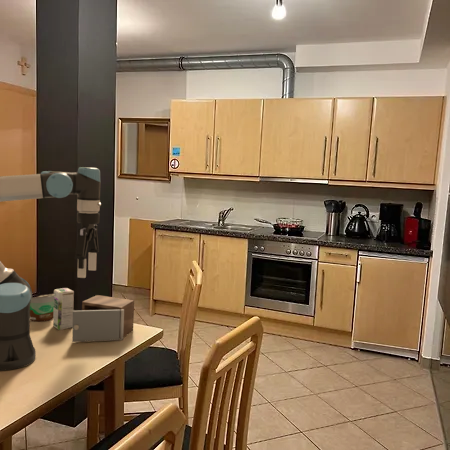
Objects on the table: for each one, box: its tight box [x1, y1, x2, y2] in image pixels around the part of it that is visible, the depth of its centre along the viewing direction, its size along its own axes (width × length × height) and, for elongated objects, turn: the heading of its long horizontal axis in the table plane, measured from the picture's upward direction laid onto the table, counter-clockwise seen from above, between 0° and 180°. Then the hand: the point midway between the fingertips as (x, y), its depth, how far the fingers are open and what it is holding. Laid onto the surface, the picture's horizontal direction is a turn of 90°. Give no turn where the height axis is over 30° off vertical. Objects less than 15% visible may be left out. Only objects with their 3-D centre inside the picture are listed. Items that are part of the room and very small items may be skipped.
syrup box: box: [52, 287, 75, 331], centre depth 172 cm, size 6×6×14 cm
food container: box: [30, 292, 54, 323], centre depth 179 cm, size 12×6×10 cm, turn 143°
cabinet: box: [81, 294, 135, 340], centre depth 170 cm, size 16×10×12 cm, turn 75°
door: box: [71, 309, 124, 343], centre depth 159 cm, size 17×2×11 cm, turn 105°
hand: (87, 273), depth 160 cm, fingers open, 11 cm apart
